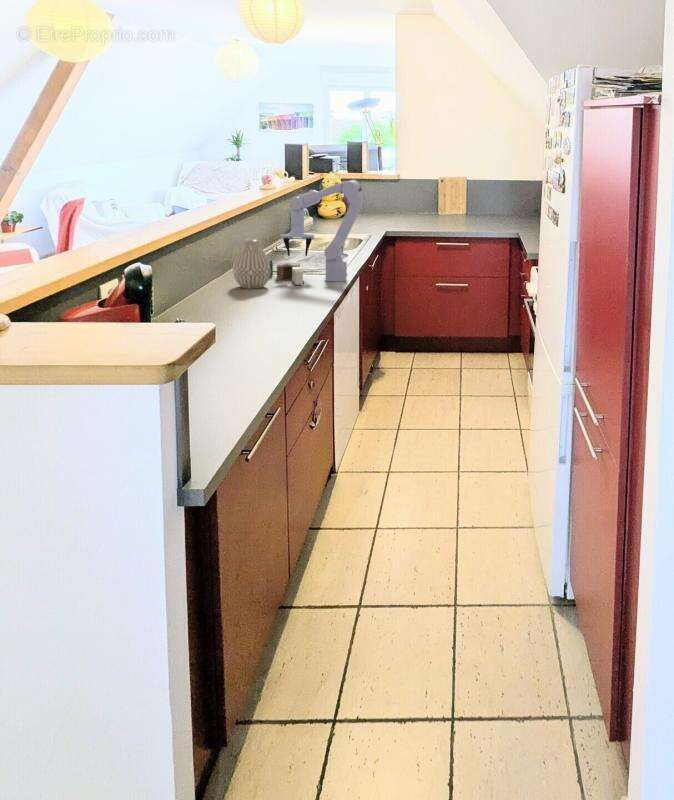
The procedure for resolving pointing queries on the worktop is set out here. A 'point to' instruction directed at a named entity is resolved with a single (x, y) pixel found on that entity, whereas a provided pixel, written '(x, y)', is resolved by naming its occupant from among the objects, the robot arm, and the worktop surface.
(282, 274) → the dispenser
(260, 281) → the vase
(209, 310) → the worktop surface
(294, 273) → the cream flat block piece
